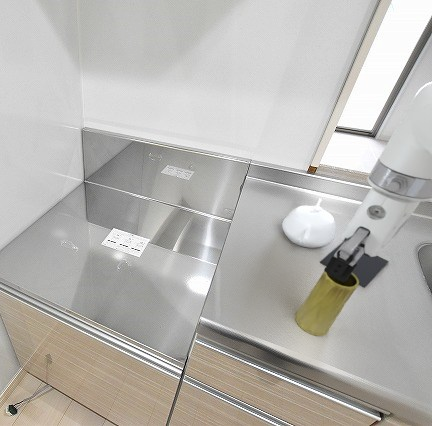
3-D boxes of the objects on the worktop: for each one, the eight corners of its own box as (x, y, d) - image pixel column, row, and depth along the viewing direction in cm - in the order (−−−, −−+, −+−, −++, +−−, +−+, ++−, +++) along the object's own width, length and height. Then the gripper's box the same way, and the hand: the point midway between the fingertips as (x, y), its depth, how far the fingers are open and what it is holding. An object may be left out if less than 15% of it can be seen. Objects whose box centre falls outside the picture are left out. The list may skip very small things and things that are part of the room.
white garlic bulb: (288, 211, 92) (300, 183, 86) (334, 226, 86) (350, 197, 80) (271, 246, 79) (283, 217, 73) (323, 267, 73) (341, 236, 67)
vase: (297, 331, 59) (327, 285, 51) (292, 307, 64) (318, 261, 55) (332, 339, 58) (368, 293, 49) (323, 313, 62) (355, 267, 54)
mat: (388, 262, 74) (389, 261, 74) (364, 287, 68) (365, 287, 67) (344, 240, 81) (345, 240, 80) (319, 262, 74) (319, 261, 74)
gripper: (417, 213, 34) (348, 302, 45) (460, 170, 42) (393, 254, 52) (346, 186, 39) (299, 272, 50) (396, 152, 47) (347, 232, 57)
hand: (347, 263), depth 51 cm, fingers open, 9 cm apart
